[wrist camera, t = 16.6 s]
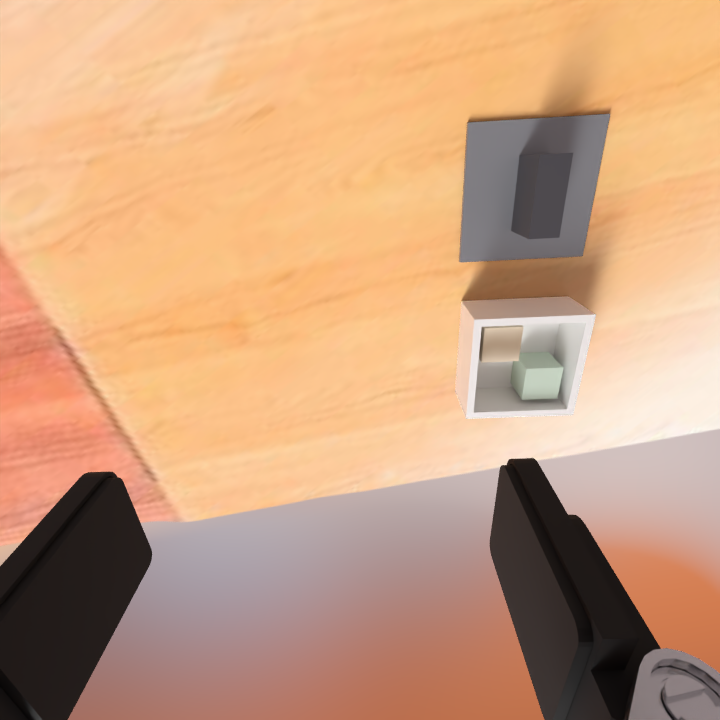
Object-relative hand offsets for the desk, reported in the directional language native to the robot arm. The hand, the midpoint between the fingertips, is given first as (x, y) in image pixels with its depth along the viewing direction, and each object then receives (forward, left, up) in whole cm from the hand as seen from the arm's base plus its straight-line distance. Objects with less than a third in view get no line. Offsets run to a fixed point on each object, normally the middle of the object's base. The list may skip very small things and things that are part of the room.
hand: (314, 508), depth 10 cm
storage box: (+13, +18, -36) cm, 43 cm away
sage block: (+16, +21, -36) cm, 44 cm away
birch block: (+10, +16, -36) cm, 40 cm away
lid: (-4, +18, -37) cm, 41 cm away
